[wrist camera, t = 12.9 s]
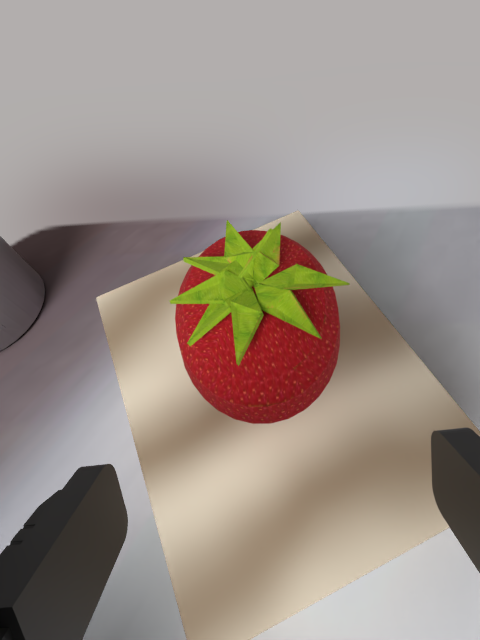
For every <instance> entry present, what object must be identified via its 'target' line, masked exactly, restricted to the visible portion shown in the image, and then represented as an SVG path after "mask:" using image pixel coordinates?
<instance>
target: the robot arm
mask: <svg viewBox="0 0 480 640" xmlns="http://www.w3.org/2000/svg"><path fill="white" fill-rule="evenodd" d="M44 295H45V288H44V282H43V280H42V279H41V277H40V275H39V274H38V273H37V272H36V271H35V270H34V269H33V268H32V267H31V266H30V265H29V264H28V263H27V262H26V261H25V260H24V259H23V258H22V257H21V256H20V255H19V254H18V253H16V252H15V251H14V250H13V249H12V248H11V247H10V246H9V245H8V244H7V243H6V242H5V240H4V239H3V238H1V237H0V351H1V350H3V349H5V348H6V347H8V346H9V345H10V344H12V343H13V342H15V341H16V340H17V339H18V338H19V337H20V336H22V335H23V334H24V333H25V332H26V331H27V330H28V328H29V327H30V326H31V325H32V323H33V322H34V321H35V319H36V317H37V316H38V314H39V312H40V310H41V307H42V304H43V301H44ZM431 463H432V489H433V494H434V498H435V501H436V504H437V506H438V509H439V511H440V513H441V514H442V516H443V518H444V519H445V521H446V522H447V524H448V525H449V527H450V528H451V530H452V531H453V533H454V535H455V536H456V538H457V539H458V541H459V542H460V544H461V545H462V547H463V548H464V550H465V551H466V553H467V554H468V556H469V558H470V559H471V561H472V562H473V564H474V565H475V567H476V568H477V570H478V571H479V573H480V436H479V435H477V434H476V433H475V432H474V431H473V430H472V429H470V428H467V427H465V428H456V429H446V430H437V431H433V433H432V435H431ZM127 526H128V517H127V511H126V508H125V504H124V500H123V497H122V493H121V489H120V486H119V482H118V478H117V474H116V471H115V469H114V467H113V466H112V465H111V464H105V465H95V466H86V467H80V468H79V469H78V470H77V471H76V472H75V473H74V475H73V476H72V477H71V479H70V480H69V481H68V483H67V484H66V485H65V487H64V488H63V489H62V490H58V491H57V492H56V493H55V494H53V495H52V496H51V497H50V498H49V499H47V500H46V501H45V502H44V503H42V504H41V505H40V506H39V507H38V508H37V509H36V510H35V512H34V513H33V514H32V515H31V517H30V518H29V519H28V520H27V522H26V523H25V524H24V528H23V529H20V530H19V532H18V533H17V534H16V535H15V537H14V538H13V539H12V540H11V544H10V546H7V547H6V548H5V549H4V550H3V552H2V553H1V554H0V640H82V639H83V636H84V634H85V632H86V629H87V627H88V625H89V622H90V620H91V618H92V615H93V613H94V611H95V608H96V606H97V604H98V601H99V599H100V597H101V594H102V592H103V590H104V587H105V585H106V583H107V581H108V578H109V576H110V574H111V571H112V569H113V567H114V564H115V562H116V560H117V557H118V555H119V553H120V550H121V548H122V546H123V543H124V541H125V538H126V534H127Z"/></svg>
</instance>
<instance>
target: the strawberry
mask: <svg viewBox="0 0 480 640" xmlns="http://www.w3.org/2000/svg"><path fill="white" fill-rule="evenodd" d="M280 234H281V222H280V223H279V224H278V225H277V226H276V227H275V228H274V229H271V228H270V229H269V230H268V231H260V230H249V231H241V232H237V231H236V230H235V229H234V227H233V226H232V225H231V224H230V223H229V222H228V220H227V224H226V237H224V238H222V239H220V240H218V241H216V242H215V243H214V244H212V245H211V246H209V247H208V248H207V249H205V250H204V251H203V252H202V253H201V255H200V256H199V257H183V260H184V262H186V263H188V264H190V265H191V267H190V268H189V270H188V271H187V273H186V275H185V277H184V280H183V282H182V284H181V286H180V290H179V294H178V296H177V297H175V298H173V299H172V300H170V304H176V312H175V324H176V335H177V339H178V343H179V347H180V351H181V355H182V359H183V362H184V366H185V369H186V371H187V373H188V375H189V377H190V379H191V381H192V383H193V385H194V386H195V387H196V389H197V390H198V391H199V393H200V394H201V395H202V397H203V398H204V399H205V400H206V401H207V402H209V403H210V404H211V405H212V406H213V407H214V408H216V409H217V410H218V411H220V412H222V413H223V414H225V415H227V416H229V417H231V418H233V419H235V420H239V421H244V422H248V423H252V424H271V423H275V422H279V421H283V420H286V419H289V418H291V417H293V416H295V415H297V414H298V413H300V412H302V411H304V410H305V409H307V408H308V407H309V406H310V405H311V404H312V403H313V402H314V401H315V400H316V399H317V398H318V397H319V396H320V395H321V393H322V392H323V390H324V389H325V387H326V386H327V384H328V383H329V381H330V379H331V377H332V374H333V372H334V369H335V367H336V364H337V360H338V353H339V347H340V320H339V311H338V305H337V300H336V295H335V291H334V289H333V286H344V285H350V283H348V282H345V281H342V280H339V279H337V278H334V277H331V276H328V275H327V273H326V272H325V270H324V268H323V267H322V265H321V264H320V262H319V261H318V260H317V259H316V258H315V257H314V256H313V255H312V254H311V253H310V251H308V250H307V249H306V248H304V247H303V246H302V245H300V244H299V243H298V242H296V241H294V240H292V239H290V238H288V237H286V236H284V235H280Z"/></svg>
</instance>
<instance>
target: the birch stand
mask: <svg viewBox="0 0 480 640" xmlns="http://www.w3.org/2000/svg"><path fill="white" fill-rule="evenodd" d="M280 222H281V234H280V235H284V236H286V237H288V238H290V239H292V240H294V241H296V242H298V243H299V244H300V245H302V246H303V247H304V248H306V249H307V250H308V251H310V253H311V254H312V255H313V256H314V257H315V258H316V259H317V260H318V261H319V262H320V264H321V265H322V267H323V268H324V270H325V272H326V273H327V275H328V276H331V277H334V278H337V279H339V280H342V281H345V282H348V283H350V285H344V286H333V289H334V291H335V295H336V300H337V305H338V311H339V320H340V347H339V353H338V360H337V364H336V367H335V369H334V372H333V374H332V377H331V379H330V381H329V383H328V384H327V386H326V387H325V389H324V390H323V392H322V393H321V395H320V396H319V397H318V398H317V399H316V400H315V401H314V402H313V403H312V404H311V405H310V406H309V407H308V408H307V409H305V410H304V411H302V412H300V413H298V414H297V415H295V416H293V417H291V418H289V419H286V420H283V421H279V422H275V423H271V424H252V423H248V422H244V421H239V420H235V419H233V418H231V417H229V416H227V415H225V414H223V413H222V412H220V411H218V410H217V409H216V408H214V407H213V406H212V405H211V404H210V403H209V402H207V401H206V400H205V399H204V398H203V397H202V395H201V394H200V393H199V391H198V390H197V389H196V387H195V386H194V385H193V383H192V381H191V379H190V377H189V375H188V373H187V371H186V369H185V366H184V362H183V359H182V355H181V351H180V347H179V343H178V339H177V335H176V324H175V312H176V304H170V300H172V299H173V298H175V297H177V296H178V294H179V290H180V286H181V284H182V282H183V280H184V277H185V275H186V273H187V271H188V270H189V268H190V267H191V265H190V264H188V263H186V262H184V260H182V261H180V262H177V263H175V264H173V265H170V266H168V267H166V268H163V269H161V270H159V271H157V272H154V273H152V274H150V275H147V276H145V277H143V278H140V279H138V280H136V281H133V282H131V283H129V284H126V285H124V286H122V287H119V288H117V289H115V290H113V291H110V292H108V293H106V294H103V295H101V296H99V297H96V299H97V303H98V307H99V310H100V314H101V318H102V322H103V325H104V329H105V333H106V337H107V341H108V344H109V348H110V352H111V356H112V359H113V363H114V367H115V371H116V374H117V378H118V382H119V386H120V390H121V393H122V397H123V401H124V405H125V408H126V412H127V416H128V420H129V423H130V427H131V431H132V435H133V439H134V442H135V446H136V450H137V454H138V457H139V461H140V465H141V469H142V472H143V476H144V480H145V484H146V488H147V491H148V495H149V499H150V503H151V506H152V510H153V514H154V518H155V521H156V525H157V529H158V533H159V537H160V540H161V544H162V548H163V552H164V555H165V559H166V563H167V567H168V570H169V574H170V578H171V582H172V586H173V589H174V593H175V597H176V601H177V604H178V608H179V612H180V616H181V619H182V623H183V627H184V631H185V634H186V638H187V640H250V639H252V638H253V637H255V636H257V635H259V634H261V633H262V632H264V631H266V630H268V629H269V628H271V627H273V626H275V625H277V624H278V623H280V622H282V621H284V620H286V619H287V618H289V617H291V616H293V615H294V614H296V613H298V612H300V611H302V610H303V609H305V608H307V607H309V606H310V605H312V604H314V603H316V602H318V601H319V600H321V599H323V598H325V597H326V596H328V595H330V594H332V593H334V592H335V591H337V590H339V589H341V588H343V587H344V586H346V585H348V584H350V583H351V582H353V581H355V580H357V579H359V578H360V577H362V576H364V575H366V574H367V573H369V572H371V571H373V570H375V569H376V568H378V567H380V566H382V565H384V564H385V563H387V562H389V561H391V560H392V559H394V558H396V557H398V556H400V555H401V554H403V553H405V552H407V551H408V550H410V549H412V548H414V547H416V546H417V545H419V544H421V543H423V542H424V541H426V540H428V539H430V538H432V537H433V536H435V535H437V534H439V533H441V532H442V531H444V530H446V529H448V528H449V525H448V524H447V522H446V521H445V519H444V518H443V516H442V514H441V513H440V511H439V509H438V506H437V504H436V501H435V498H434V494H433V489H432V463H431V435H432V433H433V431H437V430H446V429H456V428H465V427H467V428H470V429H472V430H473V431H474V432H475V433H476V434H477V435H479V436H480V431H479V430H478V429H477V428H476V426H475V425H474V424H473V423H472V421H471V420H470V419H469V418H468V417H467V415H466V414H465V413H464V412H463V411H462V409H461V408H460V407H459V406H458V404H457V403H456V402H455V401H454V400H453V398H452V397H451V396H450V395H449V393H448V392H447V391H446V390H445V389H444V387H443V386H442V385H441V384H440V382H439V381H438V380H437V379H436V378H435V376H434V375H433V374H432V373H431V372H430V370H429V369H428V368H427V367H426V365H425V364H424V363H423V362H422V361H421V359H420V358H419V357H418V356H417V354H416V353H415V352H414V351H413V350H412V348H411V347H410V346H409V345H408V343H407V342H406V341H405V340H404V339H403V337H402V336H401V335H400V334H399V332H398V331H397V330H396V329H395V328H394V326H393V325H392V324H391V323H390V322H389V320H388V319H387V318H386V317H385V315H384V314H383V313H382V312H381V311H380V309H379V308H378V307H377V306H376V304H375V303H374V302H373V301H372V300H371V298H370V297H369V296H368V295H367V293H366V292H365V291H364V290H363V289H362V287H361V286H360V285H359V284H358V283H357V281H356V280H355V279H354V278H353V276H352V275H351V274H350V273H349V272H348V270H347V269H346V268H345V267H344V265H343V264H342V263H341V262H340V261H339V259H338V258H337V257H336V256H335V254H334V253H333V252H332V251H331V250H330V248H329V247H328V246H327V245H326V243H325V242H324V241H323V240H322V239H321V237H320V236H319V235H318V234H317V233H316V231H315V230H314V229H313V228H312V226H311V225H310V224H309V223H308V222H307V220H306V219H305V218H304V217H303V215H302V214H301V213H300V212H299V211H296V212H293V213H291V214H289V215H286V216H284V217H282V218H279V219H277V220H275V221H272V222H270V223H268V224H265V225H263V226H261V227H258V228H256V229H254V230H260V231H268V230H269V229H270V228H271V229H274V228H275V227H276V226H277V225H278V224H279V223H280ZM201 253H202V252H201ZM201 253H198V254H196V255H194V256H191V257H199V256H200V255H201Z"/></svg>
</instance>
